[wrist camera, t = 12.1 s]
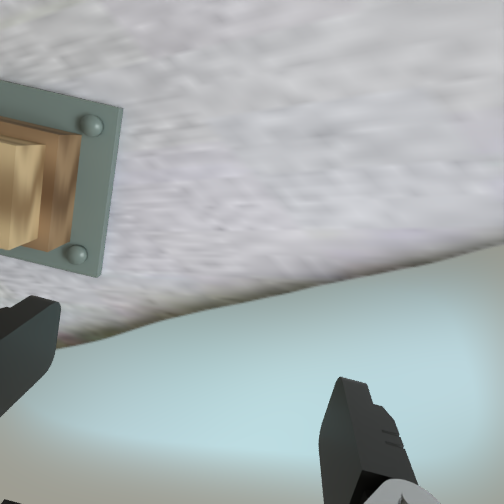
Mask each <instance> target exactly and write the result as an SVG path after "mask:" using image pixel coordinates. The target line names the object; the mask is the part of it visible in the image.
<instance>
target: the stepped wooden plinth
mask: <svg viewBox="0 0 504 504" xmlns="http://www.w3.org/2000/svg"><path fill="white" fill-rule="evenodd" d="M81 138H82V135H80V134H76V133H71V132H67V131H63V130H58V129H54V128H50V127H46V126H41V125H37V124H33V123H29V122H24V121H20V120H16V119H11V118H7V117H3V116H0V248H1V249H5V250H11V249H13V248H16V247H18V246H24V247H28V248H32V249H36V250H40V251H45V252H49V251H51V250H53V249H55V248H57V247H59V246H61V245H64V244H66V243H68V242H70V237H71V228H72V219H73V210H74V201H75V192H76V183H77V174H78V165H79V156H80V147H81Z"/></svg>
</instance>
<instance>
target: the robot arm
mask: <svg viewBox="0 0 504 504" xmlns="http://www.w3.org/2000/svg"><path fill="white" fill-rule="evenodd" d="M60 313H61V306H60V303H59V302H56V301H52V300H48V299H45V298H41V297H37V296H33V295H32V296H29V297H27V298H25V299H24V300H22V301H21V302H19V303H17V304H16V305H14V306H12V307H11V308H9V307H4V308H1V309H0V417H1V416H2V415H3V414H4V413H5V412H6V411H7V410H8V409H9V408H10V407H11V406H12V405H13V404H14V403H15V402H16V401H17V400H18V399H20V398H21V397H22V396H23V395H24V394H25V392H27V391H28V390H29V389H30V388H31V387H32V386H33V385H34V384H35V383H36V382H37V381H38V380H39V379H40V378H41V377H42V376H43V375H44V374H45V373H46V372H47V371H48V369H49V367H50V365H51V363H52V361H53V358H54V355H55V350H56V343H57V335H58V328H59V320H60ZM403 447H404V446H403V443H402V440H401V437H399V432H398V429H397V427H396V424H395V421H394V420H393V418H392V417H391V416H390V415H389V414H388V413H387V411H386V410H385V409H384V408H383V407H382V406H379V405H375V404H373V402H372V399H371V395H370V392H369V389H368V386H367V384H366V383H362V382H359V381H355V380H351V379H347V378H343V377H339V378H338V379H337V381H336V383H335V387H334V389H333V392H332V395H331V398H330V401H329V404H328V408H327V410H326V413H325V416H324V419H323V422H322V425H321V430H320V435H319V456H320V466H321V477H322V487H323V497H324V504H440V503H439V502H438V500H437V499H436V498H435V497H434V496H433V495H432V494H430V493H429V492H428V491H426V490H425V489H423V488H421V487H420V486H418V483H417V480H416V478H415V475H414V472H413V470H412V467H411V464H410V461H409V459H408V456H407V453H406V451H405V449H403ZM1 504H20V503H17V502H13V501H9V500H5V499H4V501H3V502H2V503H1Z"/></svg>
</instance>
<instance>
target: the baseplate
mask: <svg viewBox="0 0 504 504" xmlns="http://www.w3.org/2000/svg"><path fill="white" fill-rule="evenodd" d="M122 114H123V108H119V107H115V106H110V105H106V104H102V103H97V102H93V101H89V100H84V99H80V98H76V97H71V96H67V95H63V94H59V93H54V92H50V91H46V90H41V89H37V88H33V87H28V86H24V85H20V84H15V83H11V82H7V81H2V80H0V116H3V117H7V118H11V119H16V120H20V121H24V122H29V123H33V124H37V125H41V126H46V127H50V128H54V129H58V130H63V131H67V132H71V133H76V134H80V135H82V138H81V147H80V156H79V165H78V174H77V183H76V192H75V201H74V210H73V219H72V228H71V237H70V242H68V243H66V244H64V245H61V246H59V247H57V248H55V249H53V250H51V251H49V252H45V251H40V250H36V249H32V248H28V247H24V246H18V247H16V248H13V249H11V250H5V249H1V248H0V255H4V256H8V257H12V258H16V259H21V260H25V261H29V262H33V263H37V264H41V265H45V266H50V267H54V268H58V269H62V270H66V271H70V272H75V273H79V274H83V275H87V276H91V277H95V278H97V277H98V276H100V275H101V271H102V263H103V256H104V248H105V241H106V233H107V226H108V218H109V211H110V204H111V196H112V189H113V181H114V174H115V166H116V159H117V151H118V144H119V137H120V129H121V122H122Z"/></svg>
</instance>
